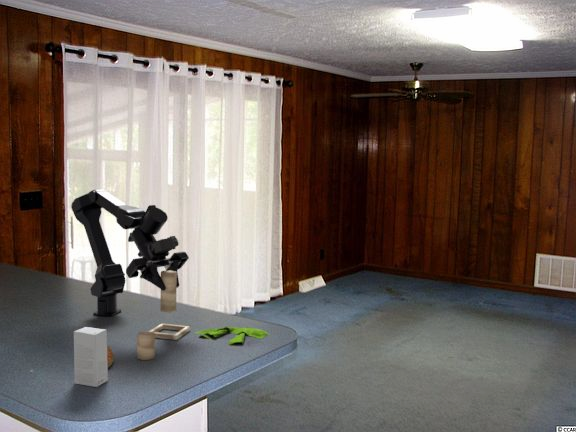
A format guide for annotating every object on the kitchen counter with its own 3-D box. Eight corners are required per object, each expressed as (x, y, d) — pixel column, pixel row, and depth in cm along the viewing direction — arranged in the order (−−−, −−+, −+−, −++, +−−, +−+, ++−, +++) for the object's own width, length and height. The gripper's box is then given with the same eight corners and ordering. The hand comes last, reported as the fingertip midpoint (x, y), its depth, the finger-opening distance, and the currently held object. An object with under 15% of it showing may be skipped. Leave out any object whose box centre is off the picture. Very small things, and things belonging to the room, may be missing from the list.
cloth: (278, 335, 169) (278, 326, 169) (236, 357, 150) (236, 348, 150) (221, 323, 179) (221, 315, 179) (174, 343, 160) (174, 334, 160)
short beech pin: (140, 353, 149) (141, 330, 149) (157, 355, 149) (157, 332, 148) (133, 358, 145) (134, 335, 144) (150, 360, 144) (151, 337, 144)
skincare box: (108, 380, 131) (108, 329, 130) (96, 387, 127) (95, 334, 126) (86, 376, 133) (85, 326, 132) (73, 383, 129) (72, 331, 128)
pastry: (118, 368, 140) (118, 352, 139) (89, 373, 136) (89, 357, 136) (109, 355, 148) (109, 341, 147) (81, 360, 144) (81, 345, 144)
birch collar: (161, 327, 172) (161, 323, 171) (189, 330, 169) (190, 326, 169) (147, 336, 163) (147, 332, 163) (176, 339, 161) (176, 335, 161)
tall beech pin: (160, 308, 167) (160, 270, 166) (176, 307, 168) (176, 270, 166) (160, 312, 163) (160, 273, 161) (176, 312, 163) (176, 273, 162)
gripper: (131, 230, 158) (157, 276, 152) (185, 224, 172) (210, 266, 167) (115, 254, 164) (139, 300, 158) (167, 247, 178) (191, 289, 172)
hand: (171, 288), depth 164 cm, fingers closed on tall beech pin, 4 cm apart
